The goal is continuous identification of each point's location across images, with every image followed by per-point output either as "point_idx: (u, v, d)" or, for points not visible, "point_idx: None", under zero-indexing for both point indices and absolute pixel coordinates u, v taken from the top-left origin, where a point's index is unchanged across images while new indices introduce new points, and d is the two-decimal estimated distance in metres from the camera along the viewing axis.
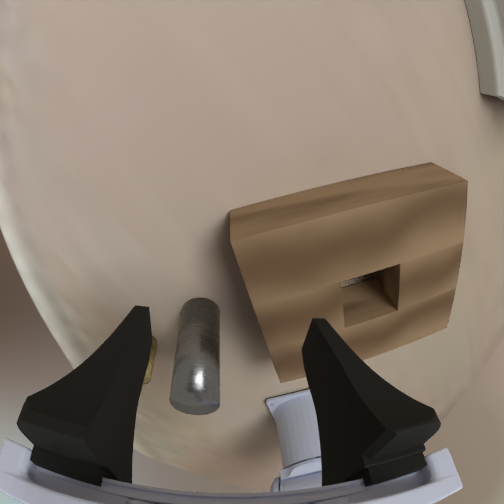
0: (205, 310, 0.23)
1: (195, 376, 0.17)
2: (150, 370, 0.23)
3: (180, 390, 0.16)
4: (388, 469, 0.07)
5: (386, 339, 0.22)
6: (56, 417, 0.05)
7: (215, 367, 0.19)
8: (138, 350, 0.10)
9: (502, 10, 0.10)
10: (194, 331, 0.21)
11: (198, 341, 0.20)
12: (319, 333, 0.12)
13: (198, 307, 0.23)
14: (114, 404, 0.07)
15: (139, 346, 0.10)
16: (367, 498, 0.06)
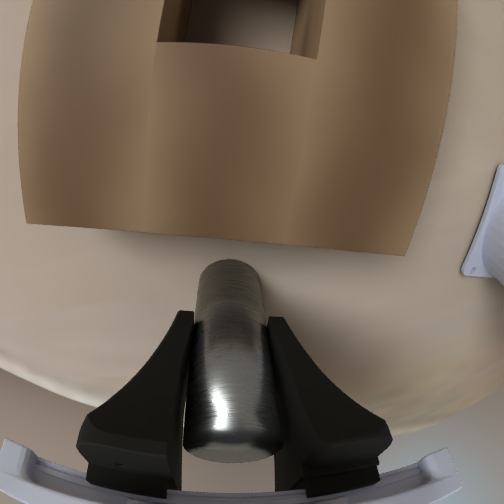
0: (204, 285, 0.14)
1: (188, 409, 0.08)
2: None
3: (183, 446, 0.08)
4: (332, 482, 0.06)
5: None
6: (128, 435, 0.05)
7: (224, 362, 0.09)
8: (187, 356, 0.11)
9: None
10: (193, 329, 0.12)
11: (194, 341, 0.11)
12: (273, 332, 0.11)
13: (198, 290, 0.14)
14: (176, 413, 0.08)
15: (188, 352, 0.11)
16: (367, 498, 0.06)
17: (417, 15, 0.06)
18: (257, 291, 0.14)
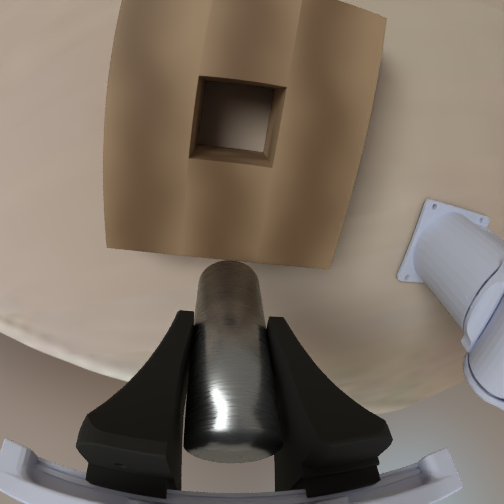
0: (203, 286, 0.14)
1: (188, 410, 0.08)
2: None
3: (184, 447, 0.08)
4: (332, 482, 0.06)
5: (340, 114, 0.14)
6: (128, 435, 0.05)
7: (224, 364, 0.09)
8: (187, 356, 0.11)
9: None
10: (193, 331, 0.12)
11: (194, 343, 0.11)
12: (273, 332, 0.11)
13: (198, 291, 0.14)
14: (176, 413, 0.08)
15: (188, 351, 0.11)
16: (367, 498, 0.06)
17: (337, 128, 0.14)
18: (256, 292, 0.14)
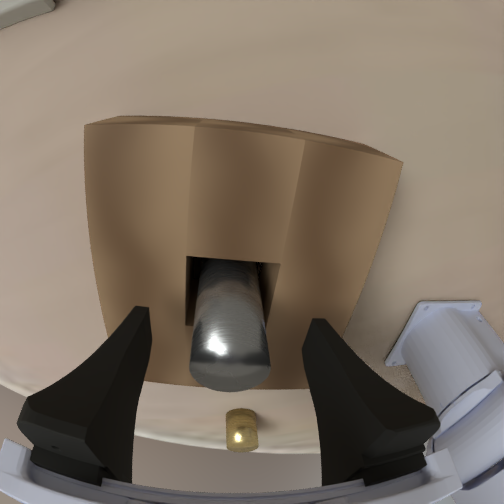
0: None
1: (194, 338, 0.12)
2: (247, 437, 0.25)
3: (189, 370, 0.11)
4: (388, 469, 0.07)
5: (335, 281, 0.15)
6: (56, 417, 0.05)
7: (223, 301, 0.12)
8: (138, 351, 0.10)
9: None
10: (199, 284, 0.15)
11: (199, 291, 0.14)
12: (319, 333, 0.12)
13: None
14: (113, 404, 0.07)
15: (139, 346, 0.10)
16: (367, 498, 0.06)
17: (331, 294, 0.15)
18: None
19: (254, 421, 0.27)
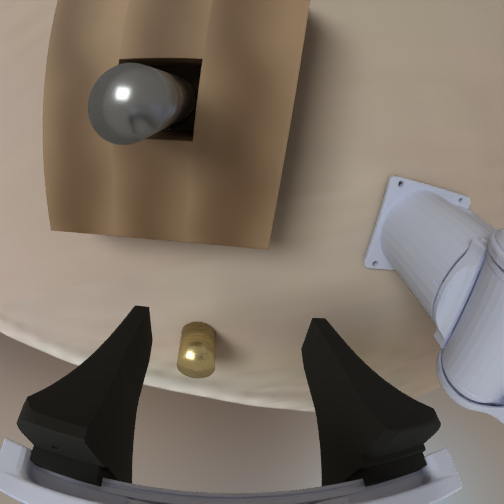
0: None
1: None
2: (199, 351, 0.23)
3: (88, 111, 0.09)
4: (388, 469, 0.07)
5: (262, 80, 0.13)
6: (56, 417, 0.05)
7: None
8: (138, 351, 0.10)
9: None
10: None
11: None
12: (319, 333, 0.12)
13: None
14: (114, 404, 0.07)
15: (139, 346, 0.10)
16: (367, 498, 0.06)
17: (260, 95, 0.13)
18: (187, 83, 0.15)
19: (212, 338, 0.26)
